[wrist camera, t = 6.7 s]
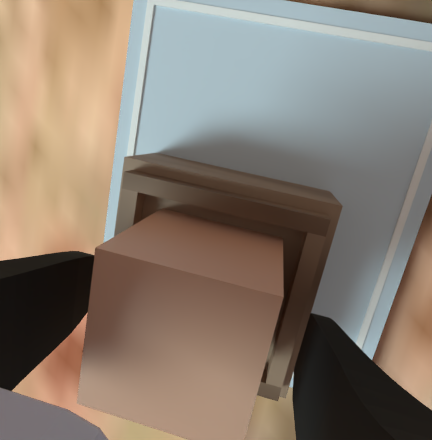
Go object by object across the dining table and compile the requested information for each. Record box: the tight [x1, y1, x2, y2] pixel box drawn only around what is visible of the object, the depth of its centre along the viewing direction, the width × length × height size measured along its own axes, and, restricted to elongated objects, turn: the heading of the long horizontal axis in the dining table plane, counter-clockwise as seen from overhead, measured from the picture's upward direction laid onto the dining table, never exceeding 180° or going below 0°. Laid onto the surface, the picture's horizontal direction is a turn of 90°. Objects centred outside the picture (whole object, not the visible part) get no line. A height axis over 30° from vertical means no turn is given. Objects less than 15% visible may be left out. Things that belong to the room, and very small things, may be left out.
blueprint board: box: [104, 0, 432, 388], centre depth 17 cm, size 17×14×1 cm
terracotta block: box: [77, 209, 284, 440], centre depth 11 cm, size 5×5×5 cm
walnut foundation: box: [114, 153, 343, 401], centre depth 15 cm, size 8×8×4 cm
